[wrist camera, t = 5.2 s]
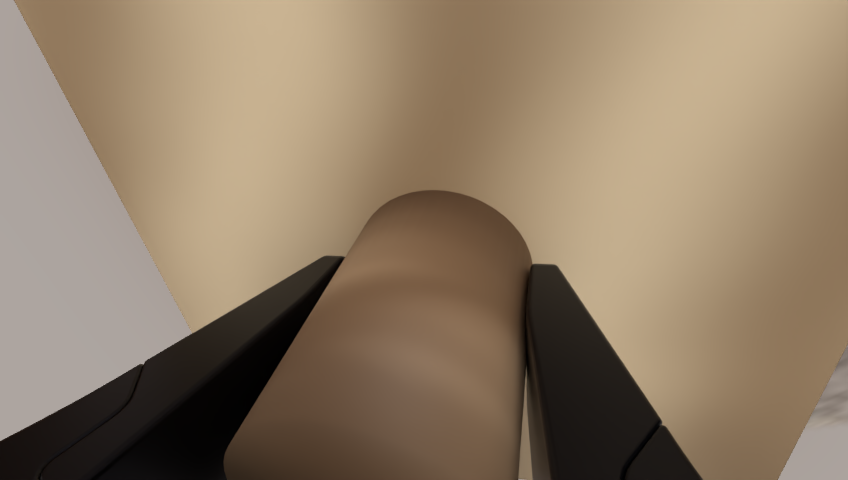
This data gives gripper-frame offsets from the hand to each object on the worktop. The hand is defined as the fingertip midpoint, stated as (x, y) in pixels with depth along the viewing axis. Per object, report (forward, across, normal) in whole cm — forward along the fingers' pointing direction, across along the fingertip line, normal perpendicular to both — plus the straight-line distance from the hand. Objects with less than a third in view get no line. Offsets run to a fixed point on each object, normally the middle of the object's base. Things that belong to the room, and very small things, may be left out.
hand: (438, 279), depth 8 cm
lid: (+1, 0, 0) cm, 1 cm away
